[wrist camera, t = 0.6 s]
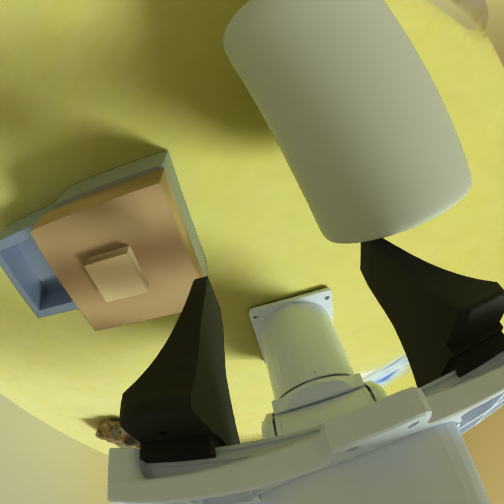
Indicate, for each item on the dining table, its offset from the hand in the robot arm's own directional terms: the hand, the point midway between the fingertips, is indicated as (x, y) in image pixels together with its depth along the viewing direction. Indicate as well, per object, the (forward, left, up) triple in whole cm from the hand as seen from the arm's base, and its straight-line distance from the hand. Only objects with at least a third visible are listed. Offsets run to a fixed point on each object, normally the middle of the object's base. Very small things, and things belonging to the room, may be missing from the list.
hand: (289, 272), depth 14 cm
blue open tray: (0, +17, -10) cm, 20 cm away
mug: (+11, -5, -7) cm, 14 cm away
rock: (-34, +29, -10) cm, 46 cm away
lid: (0, +10, -7) cm, 12 cm away
